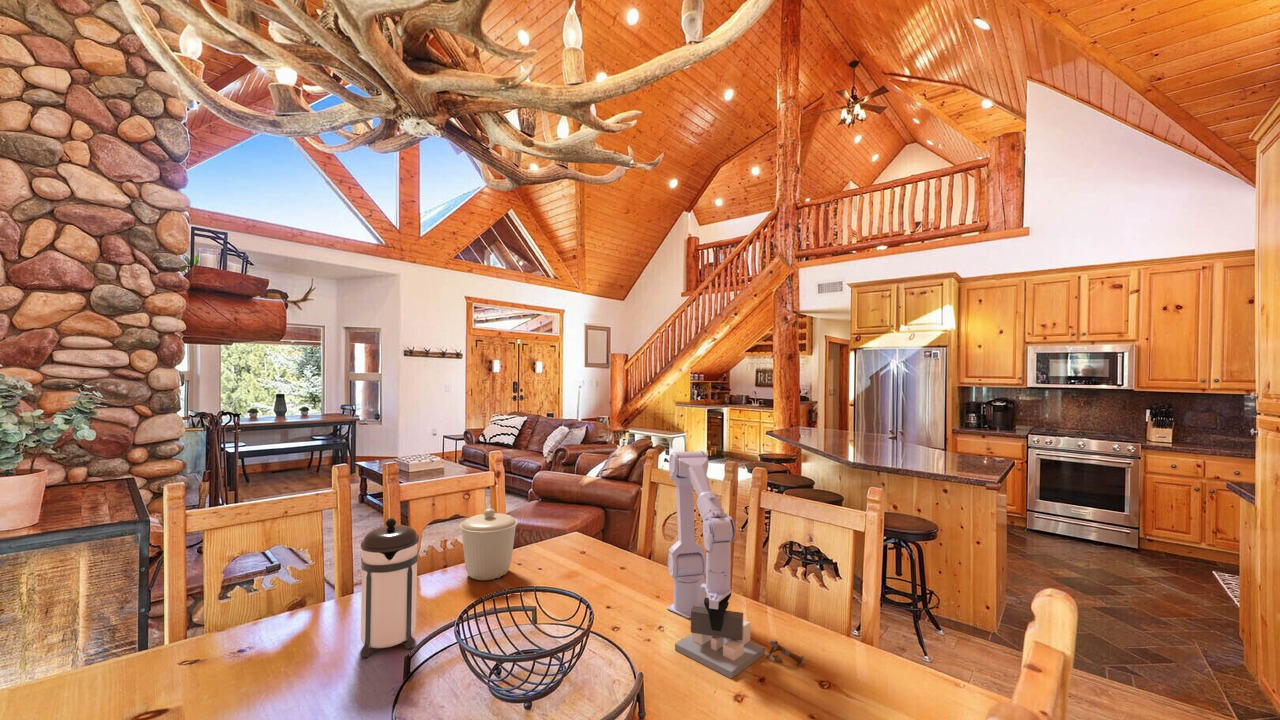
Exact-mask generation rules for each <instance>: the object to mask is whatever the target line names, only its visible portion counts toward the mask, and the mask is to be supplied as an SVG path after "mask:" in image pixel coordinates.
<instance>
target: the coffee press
mask: <svg viewBox="0 0 1280 720" xmlns="http://www.w3.org/2000/svg"><path fill="white" fill-rule="evenodd" d="M419 541H420V535H419V534H418V532H417V531H416V530H415V528H413V527H411V526H408V525H402V524H397V520H396V519H395V518H392V517H389V518H388V519H387V520H386V522H385V526H381V527H378V528H375V529H373V530H371V531H369V532H367V534H366V535H365V536H364V538H363V540H362V541H361V542H360V549H361V553H362V554H361V559H360V569H361V601H360V603H361V605H360V606H361V607H360V609H361V610H360V640H361V642H362V644H364V645H363V647H362V650H361V652H360V657H361V658H364V659H367V658H369V657H370V656H371V653H372V652H373V651H374V650H375V649H385V648H391V647H394V646H398V645H399V644H402V645H403V646H404V647H405V649H406V650H408V651H409V650H411V649H413V648H414V647H415V646H416V643H415V640H414V639H413V635H414V633H415V631H416V628H417V593H418V591H417V588H418V584H417V583H418V581H417V580H418V579H417V578H418V561H419V550H418V544H419ZM413 646H414V647H413Z"/></svg>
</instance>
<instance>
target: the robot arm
mask: <svg viewBox="0 0 1280 720" xmlns="http://www.w3.org/2000/svg"><path fill="white" fill-rule="evenodd" d="M668 468H669V469H668V470H669V480H670V481H672V482H674V483H675V490H676V491H675V493H676V518H677V520H676V521H677V541H675V542H674V544H673V545H671V547H669V549H668V558H667V569H668V573H669V576H670V577H671V578H672V579H673V603H672V604H670V605H668V606H666V609H667V610H669V611H671V612H673V613H675V614H677V615H679V616H682V617H684V618H686V619H691V610H692V608H693V606H698V607H705V608H706V609H707V611H708V614H709V618H710V624H711V628H712V630H715V631H721V628H722V624H723V618H724V613H725V611H727V609H728V607H729V603H730V602H729V600H730V599H731V597H732V596H731V595H732V588H731V567H732V565H731V563H732V562H731V559H732V558H731V557H732V556H731V554H732V553H731V551H732V547H731V545H732V542H734V541H735V538H736V526H735V522H734V520H733V518H732V516H730V515H729V514H728V513H727V512H725V511H724V508H723V505H722V503H721V501H720V498H719V496H718V495H717V493H715V492H713V491H712V489H711V487H710V486H711V485H710V482H709V479H708V475H707V474H708V469H709V457H708V454H707V453H706V452H705V451H704V450H699V451H672V452H671V453H670V455H669V460H668ZM694 492H695V494H696V495H697V499H696V502H695V503H696V506H697V510H698V513H699V515H700V517H701V520H702V537H703V541H704V542H703V544H704V545H703V546H704V548H703V546H702V545H701V544H699V542H697V541H696V529H695V528H696V527H695V526H696V525H695V507H694V506H695V505H694ZM705 549H706V551H705ZM705 552H706V555H705ZM704 575H705V576H704Z"/></svg>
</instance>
